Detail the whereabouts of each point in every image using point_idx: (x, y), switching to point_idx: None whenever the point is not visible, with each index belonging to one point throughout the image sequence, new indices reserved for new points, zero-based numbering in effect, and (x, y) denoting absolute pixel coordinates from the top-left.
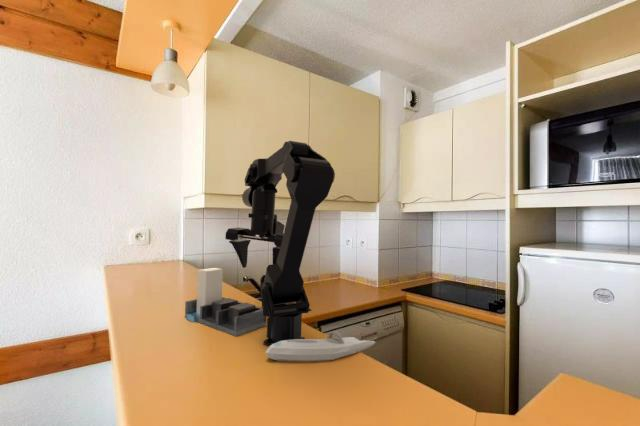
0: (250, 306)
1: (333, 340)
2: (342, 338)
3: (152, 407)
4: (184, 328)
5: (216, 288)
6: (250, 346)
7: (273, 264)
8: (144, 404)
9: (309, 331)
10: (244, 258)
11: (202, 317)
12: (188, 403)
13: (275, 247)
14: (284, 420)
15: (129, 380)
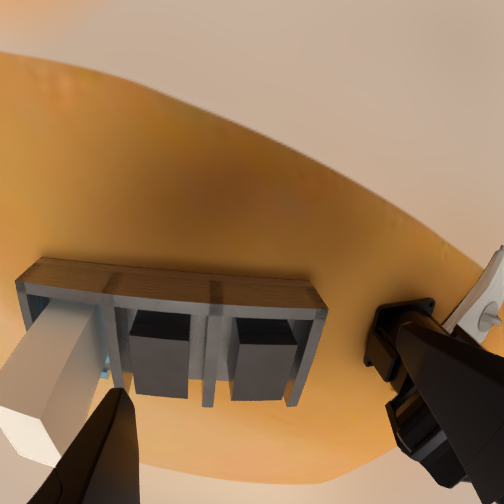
0: (292, 363)
1: (488, 326)
2: (496, 290)
3: (326, 476)
4: (139, 398)
5: (76, 375)
6: (344, 380)
7: (433, 403)
8: (316, 478)
9: (428, 243)
10: (123, 469)
11: (132, 374)
12: (351, 462)
13: (502, 494)
14: None
15: (264, 480)
